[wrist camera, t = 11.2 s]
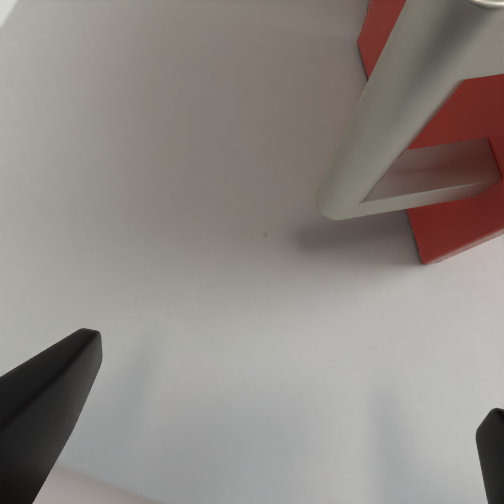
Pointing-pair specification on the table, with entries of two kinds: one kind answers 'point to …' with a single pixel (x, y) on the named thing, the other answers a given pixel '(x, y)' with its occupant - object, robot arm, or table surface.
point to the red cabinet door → (426, 125)
